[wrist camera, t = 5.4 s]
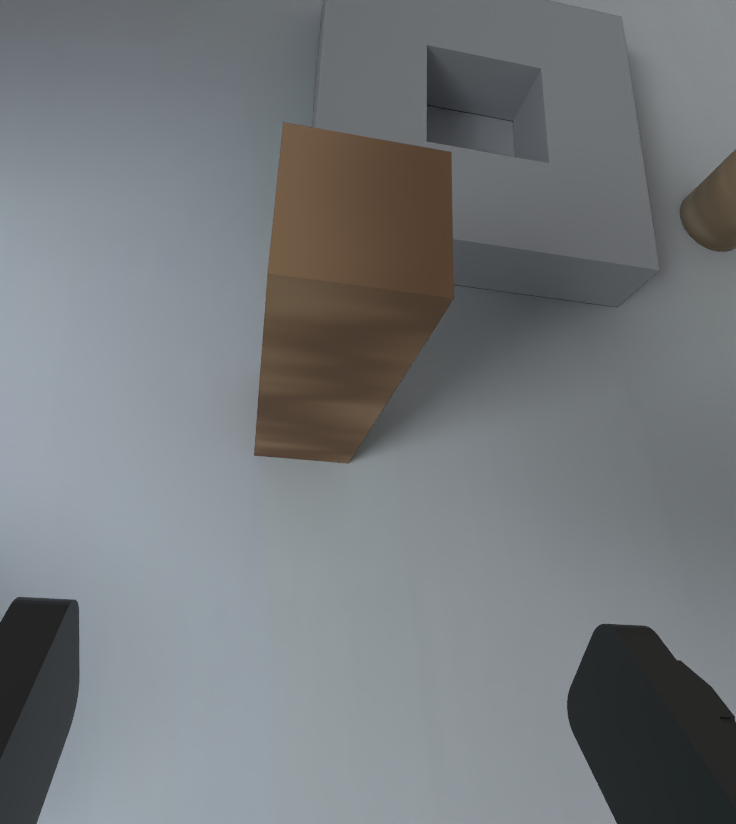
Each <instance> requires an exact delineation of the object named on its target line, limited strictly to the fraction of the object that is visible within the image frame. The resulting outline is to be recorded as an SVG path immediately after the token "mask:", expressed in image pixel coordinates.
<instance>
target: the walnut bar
mask: <svg viewBox="0 0 736 824" xmlns="http://www.w3.org/2000/svg"><path fill="white" fill-rule="evenodd" d="M453 299H454V277H453V214H452V152H450V151H444V150H438V149H433V148H427V147H421V146H415V145H410V144H404V143H398V142H393V141H387V140H381V139H376V138H370V137H364V136H359V135H353V134H347V133H342V132H336V131H330V130H324V129H319V128H313V127H307V126H302V125H296V124H290V123H285V122H283V132H282V141H281V151H280V160H279V170H278V179H277V189H276V198H275V208H274V217H273V227H272V237H271V246H270V256H269V265H268V275H267V289H266V302H265V316H264V329H263V343H262V356H261V370H260V383H259V397H258V410H257V424H256V437H255V451H254V455H255V456H267V457H279V458H291V459H303V460H315V461H327V462H339V463H349V462H350V460H351V459H352V457H353V455H354V454H355V452H356V451H357V449H358V448H359V446H360V444H361V443H362V441H363V440H364V438H365V437H366V435H367V433H368V432H369V430H370V429H371V427H372V426H373V424H374V423H375V421H376V419H377V418H378V416H379V415H380V413H381V412H382V410H383V408H384V407H385V405H386V404H387V402H388V401H389V399H390V397H391V396H392V394H393V393H394V391H395V390H396V388H397V387H398V385H399V383H400V382H401V380H402V379H403V377H404V376H405V374H406V372H407V371H408V369H409V368H410V366H411V365H412V363H413V361H414V360H415V358H416V357H417V355H418V354H419V352H420V350H421V349H422V347H423V346H424V344H425V343H426V341H427V340H428V338H429V336H430V335H431V333H432V332H433V330H434V329H435V327H436V325H437V324H438V322H439V321H440V319H441V318H442V316H443V314H444V313H445V311H446V310H447V308H448V307H449V305H450V304H451V302H452V300H453Z"/></svg>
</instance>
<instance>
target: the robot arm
mask: <svg viewBox="0 0 736 824" xmlns="http://www.w3.org/2000/svg"><path fill="white" fill-rule="evenodd" d="M78 689H79V607H78V602H77V601H76V600H70V599H49V598H29V597H18V598H16V599H15V600H14V601H13V602H12V604H11V605H10V607H9V608H8V610H7V612H6V614H5V615H4V617H3V619H2V621H1V622H0V824H36V823H37V821H38V818H39V815H40V812H41V809H42V806H43V804H44V801H45V798H46V795H47V792H48V789H49V787H50V784H51V781H52V778H53V775H54V772H55V770H56V767H57V764H58V761H59V758H60V755H61V753H62V750H63V747H64V744H65V741H66V738H67V736H68V733H69V730H70V727H71V723H72V720H73V716H74V712H75V708H76V703H77V697H78ZM567 710H568V718H569V722H570V726H571V729H572V731H573V734H574V736H575V738H576V740H577V742H578V744H579V746H580V748H581V750H582V752H583V754H584V756H585V759H586V761H587V763H588V765H589V767H590V769H591V771H592V773H593V775H594V777H595V779H596V781H597V783H598V785H599V787H600V789H601V791H602V793H603V796H604V798H605V800H606V802H607V804H608V806H609V808H610V810H611V812H612V814H613V816H614V818H615V820H616V822H617V824H736V722H735V717H734V715H733V714H732V713H731V711H730V710H729V709H728V708H727V706H726V705H725V704H724V702H723V701H722V700H721V699H720V697H719V696H718V695H717V693H716V692H715V691H714V689H713V688H712V687H711V686H710V685H709V684H707V683H706V682H705V681H704V680H703V679H702V678H700V677H699V676H698V675H697V674H696V673H694V672H693V671H692V670H691V669H690V668H688V667H687V666H686V665H685V664H684V663H683V662H681V661H679V660H676V659H675V658H674V656H673V655H672V654H671V652H670V651H669V650H668V648H667V647H666V646H665V644H664V643H663V642H662V640H661V639H660V638H659V636H658V635H657V634H656V633H655V632H654V631H653V630H652V629H651V628H649V627H647V626H637V625H617V624H601V625H599V626H598V627H597V628H596V629H595V630H594V632H593V634H592V637H591V639H590V641H589V644H588V646H587V649H586V651H585V653H584V656H583V658H582V661H581V663H580V665H579V668H578V670H577V673H576V675H575V677H574V680H573V682H572V685H571V687H570V690H569V693H568V700H567Z"/></svg>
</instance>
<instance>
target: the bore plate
mask: <svg viewBox="0 0 736 824" xmlns="http://www.w3.org/2000/svg"><path fill="white" fill-rule="evenodd" d="M427 105H431V106H436V107H442V108H447V109H452V110H457V111H463V112H468V113H473V114H479V115H484V116H489V117H495V118H500V119H505V120H511V121H513V126H514V143H515V157H512V156H506V155H500V154H495V153H489V152H483V151H478V150H472V149H467V148H461V147H455V146H450V145H444V144H438V143H433V142H427ZM312 127H313V128H319V129H324V130H330V131H336V132H342V133H347V134H353V135H359V136H364V137H370V138H376V139H381V140H387V141H393V142H398V143H404V144H410V145H415V146H421V147H427V148H433V149H438V150H444V151H450V152H452V214H453V277H454V285H460V286H468V287H475V288H482V289H489V290H497V291H504V292H511V293H518V294H526V295H533V296H540V297H547V298H555V299H562V300H569V301H576V302H584V303H591V304H598V305H605V306H613V307H618V306H619V305H620V304H621V303H622V302H624V301H625V300H626V299H627V298H628V297H629V296H630V295H632V294H633V293H634V292H635V291H636V290H637V289H639V288H640V287H641V286H642V285H643V284H644V283H646V282H647V281H648V280H649V279H650V278H651V277H653V276H654V275H655V274H656V273H657V272H658V271H659V270H660V268H659V261H658V254H657V248H656V241H655V234H654V228H653V221H652V214H651V208H650V201H649V194H648V188H647V181H646V174H645V168H644V161H643V154H642V148H641V141H640V134H639V128H638V121H637V114H636V108H635V101H634V94H633V88H632V81H631V74H630V68H629V61H628V55H627V48H626V41H625V35H624V28H623V21H622V17H620V16H616V15H611V14H607V13H602V12H598V11H593V10H589V9H584V8H580V7H576V6H571V5H567V4H562V3H558V2H553V1H549V0H323V7H322V14H321V26H320V38H319V50H318V62H317V74H316V85H315V97H314V109H313V121H312Z"/></svg>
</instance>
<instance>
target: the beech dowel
mask: <svg viewBox="0 0 736 824" xmlns="http://www.w3.org/2000/svg"><path fill="white" fill-rule="evenodd" d="M680 215H681V220H682V223H683V225H684V227H685V229H686V230H687V232H688V233H689V234H690V236H691V237H692V238H693V239H694V240H696V241H697V242H698V243H699V244H701V245H703V246H704V247H706V248H709V249H711V250H715V251H729V250H732V249H734V248H736V150H735V151H734V152H733V153H731V154H730V155H729V156H728V157H727V158H726V159H725V160H724V161H723V162H722V163H721V164H720V165H719V166H718V167H717V168H716V169H715V170H714V171H713V172H712V173H711V174H710V175H709V176H708V177H707V178H706V179H705V180H704V181H703V182H702V183H701V184H700V185H699V186H698V187H697V188H696V189H695V190H693V191H692V192H691V193H690V194H689V195H688V196H687V197H686V198H685V199H684V201H683V202H682V205H681V208H680Z"/></svg>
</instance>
